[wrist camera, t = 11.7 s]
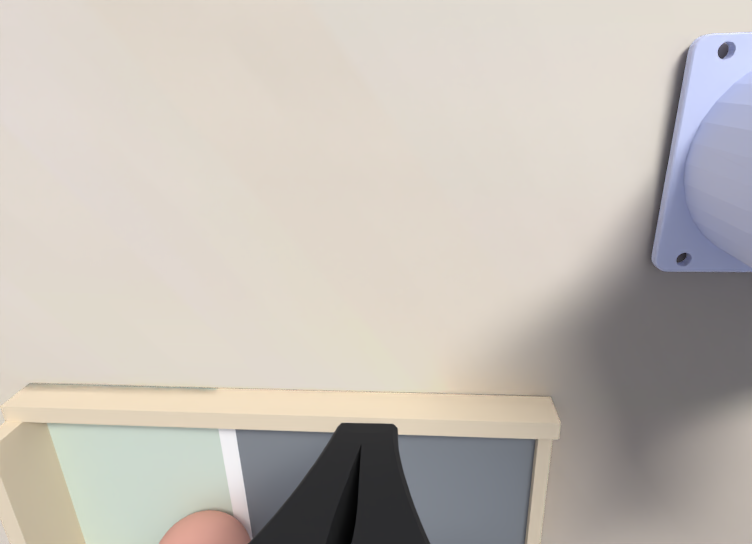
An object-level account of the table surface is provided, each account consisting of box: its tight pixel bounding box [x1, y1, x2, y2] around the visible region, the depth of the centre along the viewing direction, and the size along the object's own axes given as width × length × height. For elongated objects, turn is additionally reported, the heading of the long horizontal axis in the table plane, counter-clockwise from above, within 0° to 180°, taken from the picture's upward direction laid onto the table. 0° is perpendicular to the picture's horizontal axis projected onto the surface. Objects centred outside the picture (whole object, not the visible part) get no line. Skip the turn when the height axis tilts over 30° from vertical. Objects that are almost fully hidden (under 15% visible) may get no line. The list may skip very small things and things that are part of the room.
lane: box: [0, 383, 561, 544], centre depth 23 cm, size 24×11×4 cm, turn 92°
